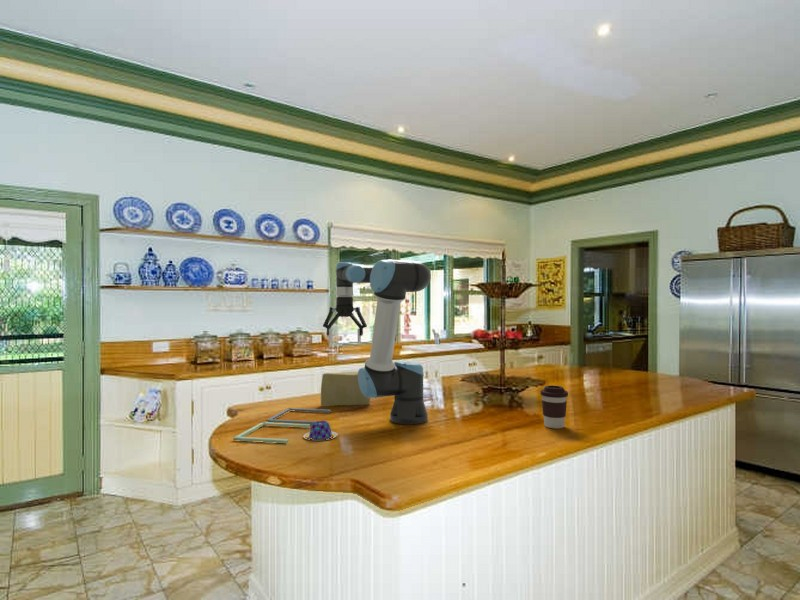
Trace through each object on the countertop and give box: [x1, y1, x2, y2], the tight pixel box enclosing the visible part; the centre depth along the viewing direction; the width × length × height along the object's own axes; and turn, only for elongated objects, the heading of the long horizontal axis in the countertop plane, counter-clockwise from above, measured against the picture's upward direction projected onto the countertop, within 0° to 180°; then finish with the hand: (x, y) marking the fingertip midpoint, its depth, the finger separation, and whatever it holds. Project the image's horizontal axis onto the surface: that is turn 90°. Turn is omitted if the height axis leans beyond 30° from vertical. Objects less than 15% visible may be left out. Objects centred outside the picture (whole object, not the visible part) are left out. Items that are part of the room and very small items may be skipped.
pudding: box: [302, 420, 339, 441], centre depth 164 cm, size 12×12×5 cm
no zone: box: [265, 407, 332, 426], centre depth 191 cm, size 20×21×1 cm
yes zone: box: [232, 421, 311, 444], centre depth 167 cm, size 20×21×1 cm
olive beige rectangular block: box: [320, 370, 371, 407], centre depth 215 cm, size 22×10×15 cm, turn 106°
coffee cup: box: [540, 385, 569, 430], centre depth 176 cm, size 10×10×15 cm
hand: (344, 342), depth 212 cm, fingers open, 13 cm apart
